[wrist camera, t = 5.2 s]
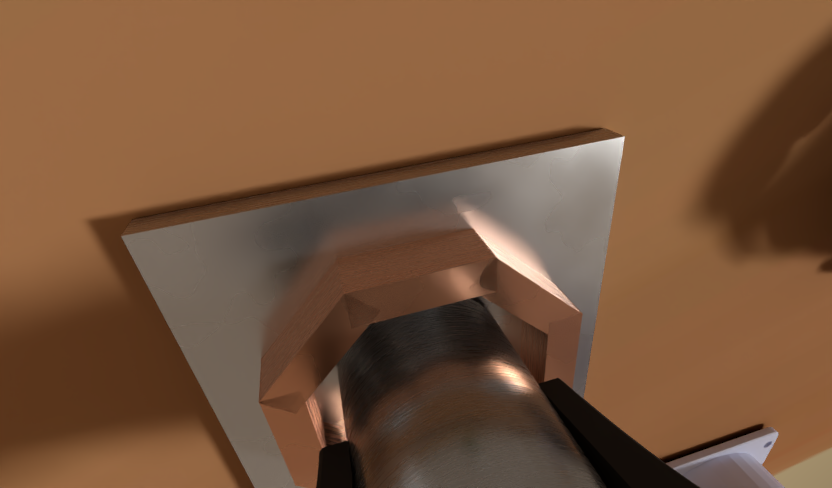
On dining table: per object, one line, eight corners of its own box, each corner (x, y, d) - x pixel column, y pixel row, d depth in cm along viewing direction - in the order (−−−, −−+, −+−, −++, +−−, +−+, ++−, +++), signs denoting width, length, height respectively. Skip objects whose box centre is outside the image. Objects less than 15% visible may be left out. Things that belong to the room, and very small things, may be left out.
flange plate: (567, 412, 18) (601, 461, 16) (275, 504, 16) (274, 573, 14) (605, 128, 12) (668, 154, 10) (131, 219, 10) (94, 275, 8)
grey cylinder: (503, 276, 12) (713, 537, 6) (498, 399, 15) (645, 671, 9) (323, 314, 11) (365, 665, 5) (351, 439, 14) (400, 775, 8)
